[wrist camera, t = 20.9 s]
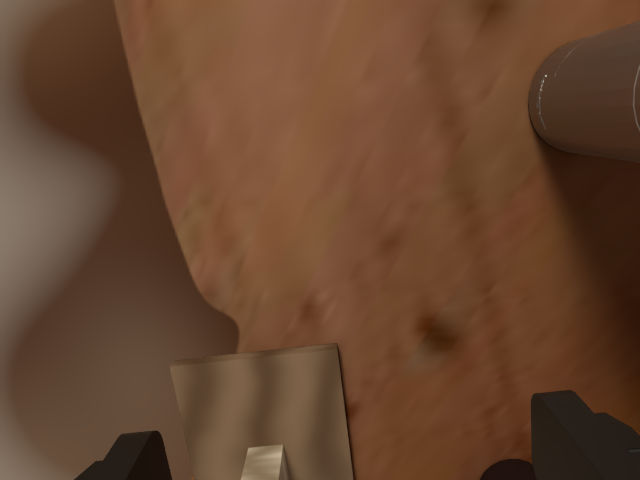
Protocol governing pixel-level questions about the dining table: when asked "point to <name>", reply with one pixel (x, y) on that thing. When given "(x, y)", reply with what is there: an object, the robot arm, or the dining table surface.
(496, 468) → the bottle
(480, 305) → the dining table surface
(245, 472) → the cream tall block
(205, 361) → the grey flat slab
